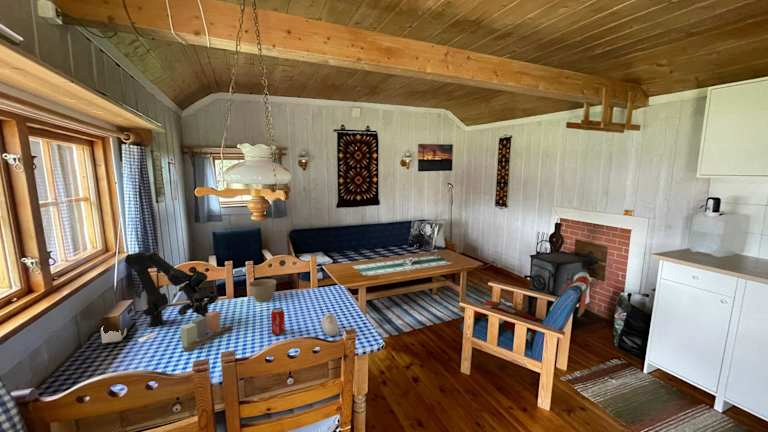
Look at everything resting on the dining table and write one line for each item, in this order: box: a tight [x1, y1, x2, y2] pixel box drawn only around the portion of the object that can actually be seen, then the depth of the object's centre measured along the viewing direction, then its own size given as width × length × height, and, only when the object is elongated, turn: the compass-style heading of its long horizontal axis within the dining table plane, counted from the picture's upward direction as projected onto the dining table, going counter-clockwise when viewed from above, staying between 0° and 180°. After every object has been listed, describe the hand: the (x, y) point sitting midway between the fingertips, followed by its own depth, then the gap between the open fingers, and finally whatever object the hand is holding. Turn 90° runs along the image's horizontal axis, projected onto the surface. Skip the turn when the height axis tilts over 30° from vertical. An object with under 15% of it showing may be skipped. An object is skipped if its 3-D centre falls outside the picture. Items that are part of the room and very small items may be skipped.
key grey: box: [191, 315, 208, 341], centre depth 150 cm, size 4×4×9 cm
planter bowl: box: [248, 278, 277, 303], centre depth 199 cm, size 16×16×11 cm
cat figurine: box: [320, 312, 340, 337], centre depth 158 cm, size 10×8×15 cm
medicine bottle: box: [100, 327, 127, 344], centre depth 149 cm, size 7×7×12 cm
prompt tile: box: [137, 332, 158, 343], centre depth 149 cm, size 12×7×1 cm, turn 65°
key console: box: [183, 324, 233, 353], centre depth 150 cm, size 12×23×3 cm, turn 155°
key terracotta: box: [206, 310, 221, 334], centre depth 156 cm, size 4×4×9 cm
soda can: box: [270, 307, 286, 336], centre depth 156 cm, size 6×6×12 cm
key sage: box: [180, 322, 198, 348], centre depth 143 cm, size 4×4×9 cm
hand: (207, 317), depth 158 cm, fingers closed
